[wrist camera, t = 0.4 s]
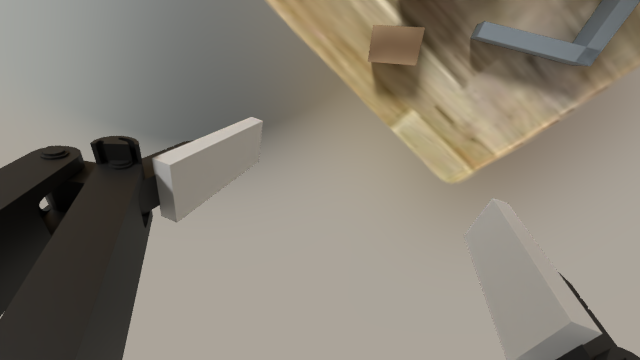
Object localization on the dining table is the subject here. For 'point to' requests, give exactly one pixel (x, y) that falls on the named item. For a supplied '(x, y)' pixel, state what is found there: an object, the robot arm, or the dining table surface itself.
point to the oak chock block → (395, 44)
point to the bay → (580, 52)
